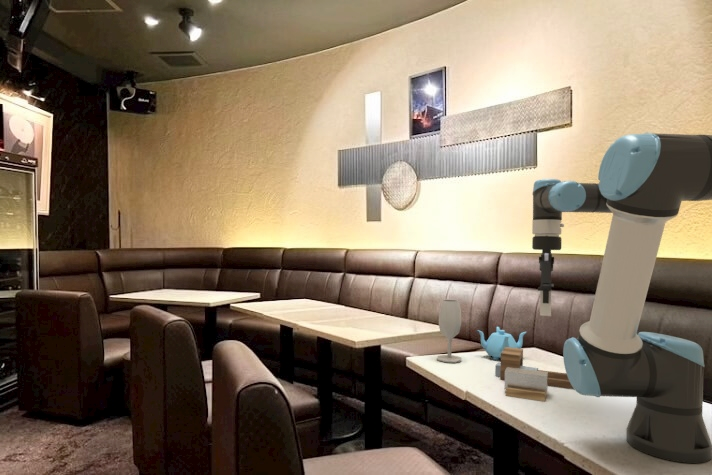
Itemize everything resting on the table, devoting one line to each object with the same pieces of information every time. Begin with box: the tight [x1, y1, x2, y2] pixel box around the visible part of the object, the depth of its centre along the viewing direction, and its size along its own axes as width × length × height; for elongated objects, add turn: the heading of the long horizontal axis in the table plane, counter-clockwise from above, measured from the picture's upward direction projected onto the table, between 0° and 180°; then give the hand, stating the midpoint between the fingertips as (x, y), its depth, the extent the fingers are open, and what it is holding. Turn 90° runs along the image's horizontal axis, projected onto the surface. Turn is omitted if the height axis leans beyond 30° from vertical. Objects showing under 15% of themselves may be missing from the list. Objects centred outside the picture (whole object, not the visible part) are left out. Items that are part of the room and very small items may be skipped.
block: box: [504, 367, 549, 396], centre depth 137 cm, size 11×5×5 cm, turn 67°
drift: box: [494, 362, 539, 378], centre depth 152 cm, size 12×4×4 cm, turn 61°
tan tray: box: [505, 387, 547, 402], centre depth 137 cm, size 10×10×2 cm
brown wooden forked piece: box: [499, 347, 575, 390], centre depth 149 cm, size 10×24×8 cm, turn 66°
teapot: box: [476, 326, 527, 361], centre depth 176 cm, size 13×13×10 cm
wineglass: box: [436, 298, 462, 364], centre depth 172 cm, size 9×9×21 cm
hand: (545, 312), depth 136 cm, fingers open, 13 cm apart
